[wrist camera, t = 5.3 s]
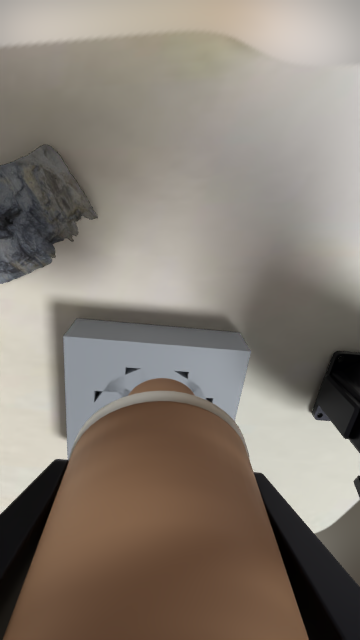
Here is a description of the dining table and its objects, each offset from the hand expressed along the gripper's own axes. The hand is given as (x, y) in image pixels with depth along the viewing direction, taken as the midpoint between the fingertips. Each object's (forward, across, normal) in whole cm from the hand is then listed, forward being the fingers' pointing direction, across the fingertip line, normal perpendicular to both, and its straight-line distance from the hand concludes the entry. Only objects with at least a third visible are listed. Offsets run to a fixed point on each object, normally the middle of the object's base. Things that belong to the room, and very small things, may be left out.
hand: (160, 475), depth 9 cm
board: (+13, 0, +6) cm, 14 cm away
